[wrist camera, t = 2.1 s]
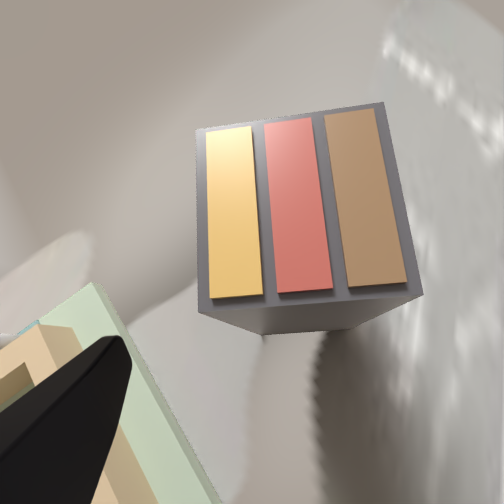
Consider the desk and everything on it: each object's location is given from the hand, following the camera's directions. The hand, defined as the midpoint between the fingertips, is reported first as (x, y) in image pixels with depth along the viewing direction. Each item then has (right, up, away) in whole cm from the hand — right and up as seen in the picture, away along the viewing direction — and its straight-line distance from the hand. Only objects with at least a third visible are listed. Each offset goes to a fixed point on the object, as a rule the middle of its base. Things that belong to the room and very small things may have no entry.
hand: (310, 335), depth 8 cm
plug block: (+1, 0, +10) cm, 10 cm away
